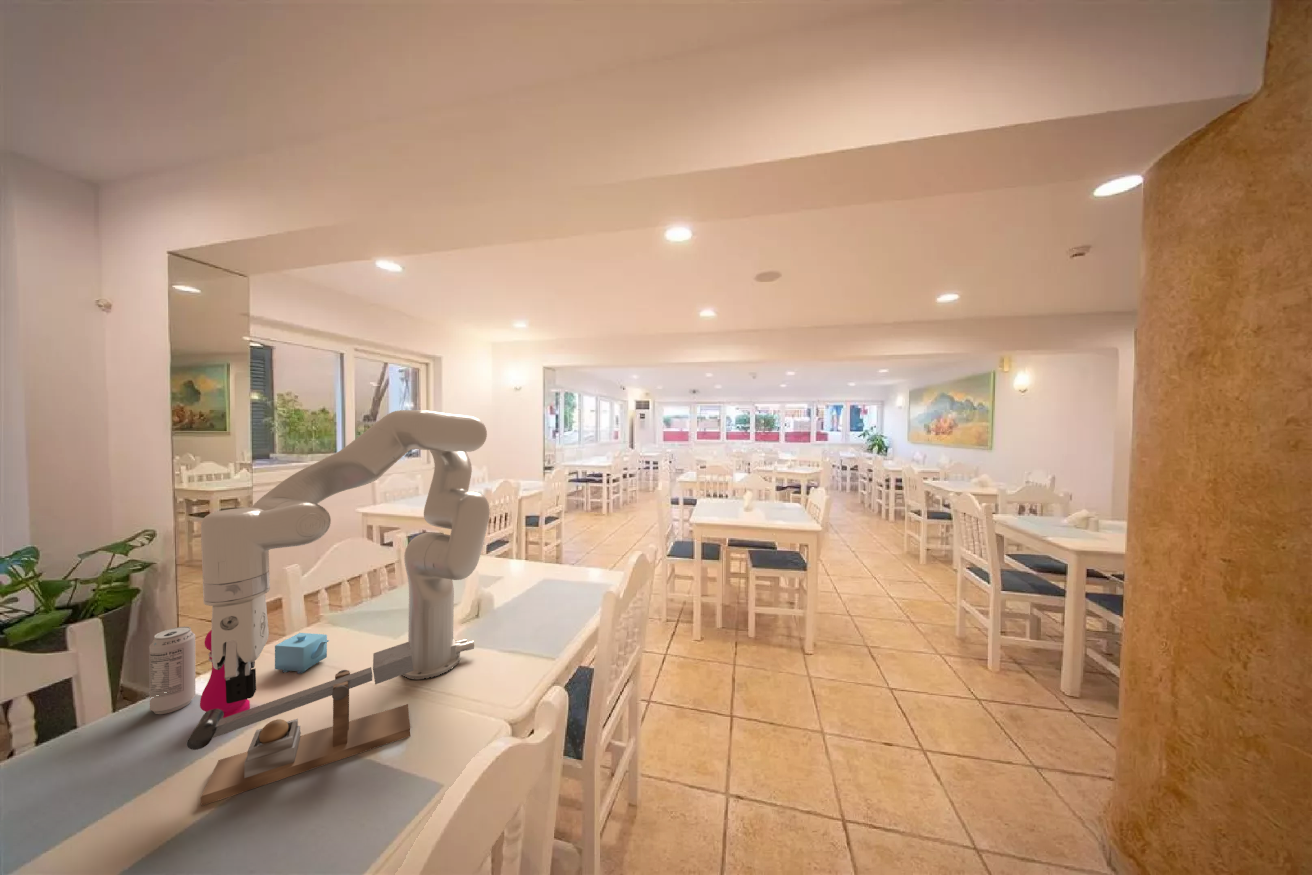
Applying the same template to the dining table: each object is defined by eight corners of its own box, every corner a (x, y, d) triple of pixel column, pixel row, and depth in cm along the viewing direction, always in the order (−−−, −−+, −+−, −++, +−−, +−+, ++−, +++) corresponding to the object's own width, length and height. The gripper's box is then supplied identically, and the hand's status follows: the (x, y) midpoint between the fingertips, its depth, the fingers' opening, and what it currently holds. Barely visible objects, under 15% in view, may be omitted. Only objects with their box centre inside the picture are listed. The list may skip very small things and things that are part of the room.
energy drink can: (204, 695, 88) (204, 624, 87) (176, 714, 82) (175, 638, 81) (170, 697, 87) (170, 625, 86) (139, 717, 81) (139, 640, 80)
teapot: (339, 661, 101) (339, 630, 101) (317, 676, 95) (317, 643, 95) (294, 658, 102) (294, 627, 102) (268, 672, 96) (268, 640, 96)
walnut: (290, 731, 72) (290, 711, 72) (286, 745, 69) (286, 724, 69) (262, 740, 70) (262, 719, 70) (256, 754, 67) (256, 732, 67)
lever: (411, 656, 83) (409, 641, 83) (413, 671, 78) (411, 655, 78) (202, 729, 67) (199, 711, 67) (188, 753, 62) (184, 734, 62)
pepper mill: (218, 733, 77) (218, 626, 76) (189, 727, 78) (188, 621, 78) (263, 707, 84) (263, 609, 84) (235, 702, 85) (234, 605, 85)
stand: (408, 711, 84) (408, 651, 84) (410, 736, 77) (410, 671, 77) (218, 768, 69) (218, 696, 69) (201, 805, 63) (200, 726, 62)
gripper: (258, 598, 63) (261, 716, 64) (278, 568, 75) (281, 667, 76) (185, 610, 59) (190, 736, 59) (219, 576, 71) (223, 680, 72)
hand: (241, 697), depth 68 cm, fingers closed
